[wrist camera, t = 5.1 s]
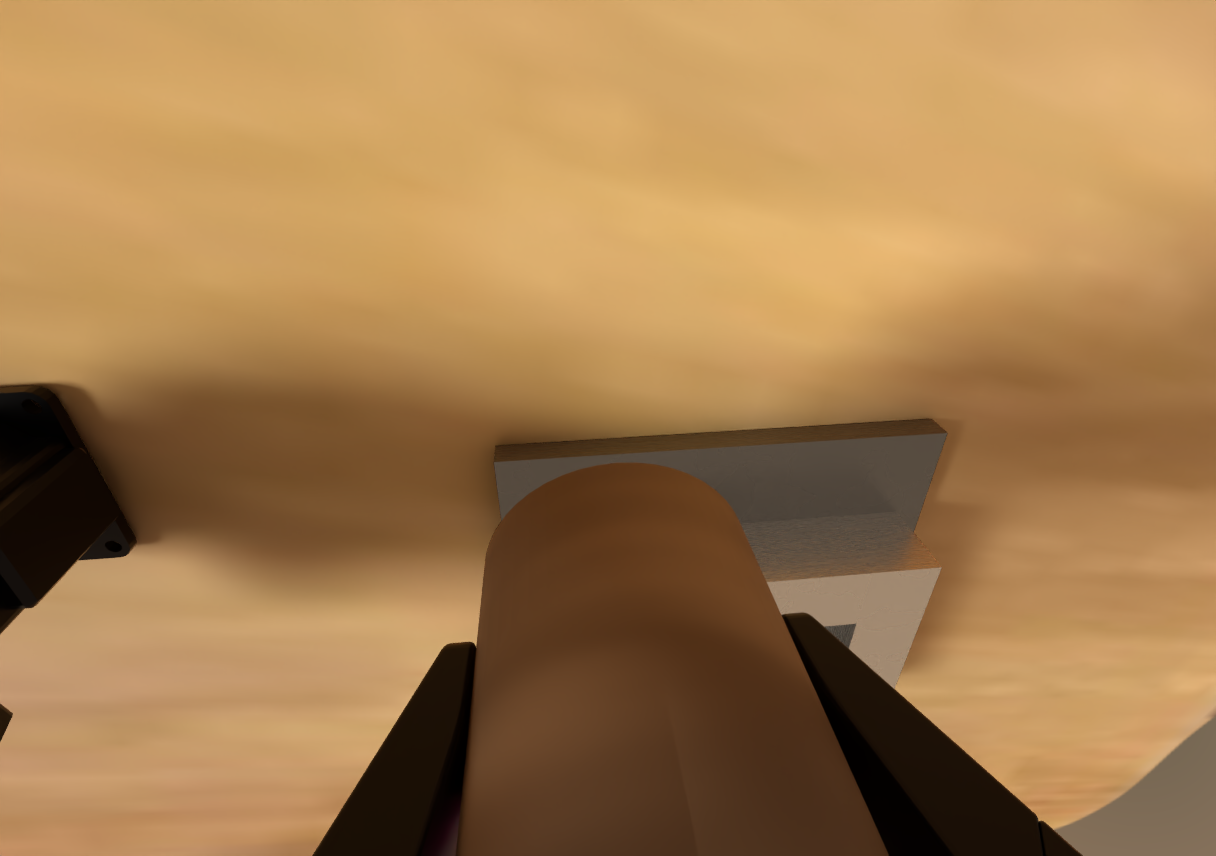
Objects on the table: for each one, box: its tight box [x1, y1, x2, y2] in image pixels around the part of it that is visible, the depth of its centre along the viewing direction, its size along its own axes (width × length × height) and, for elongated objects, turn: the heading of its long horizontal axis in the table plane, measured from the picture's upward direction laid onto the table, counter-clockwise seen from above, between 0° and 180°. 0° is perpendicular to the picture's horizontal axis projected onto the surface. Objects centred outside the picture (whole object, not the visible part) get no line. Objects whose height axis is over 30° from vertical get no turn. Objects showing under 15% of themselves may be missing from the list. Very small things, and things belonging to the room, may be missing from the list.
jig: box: [494, 419, 947, 689], centre depth 24 cm, size 16×18×4 cm
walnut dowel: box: [456, 462, 889, 856], centre depth 7 cm, size 4×4×7 cm
